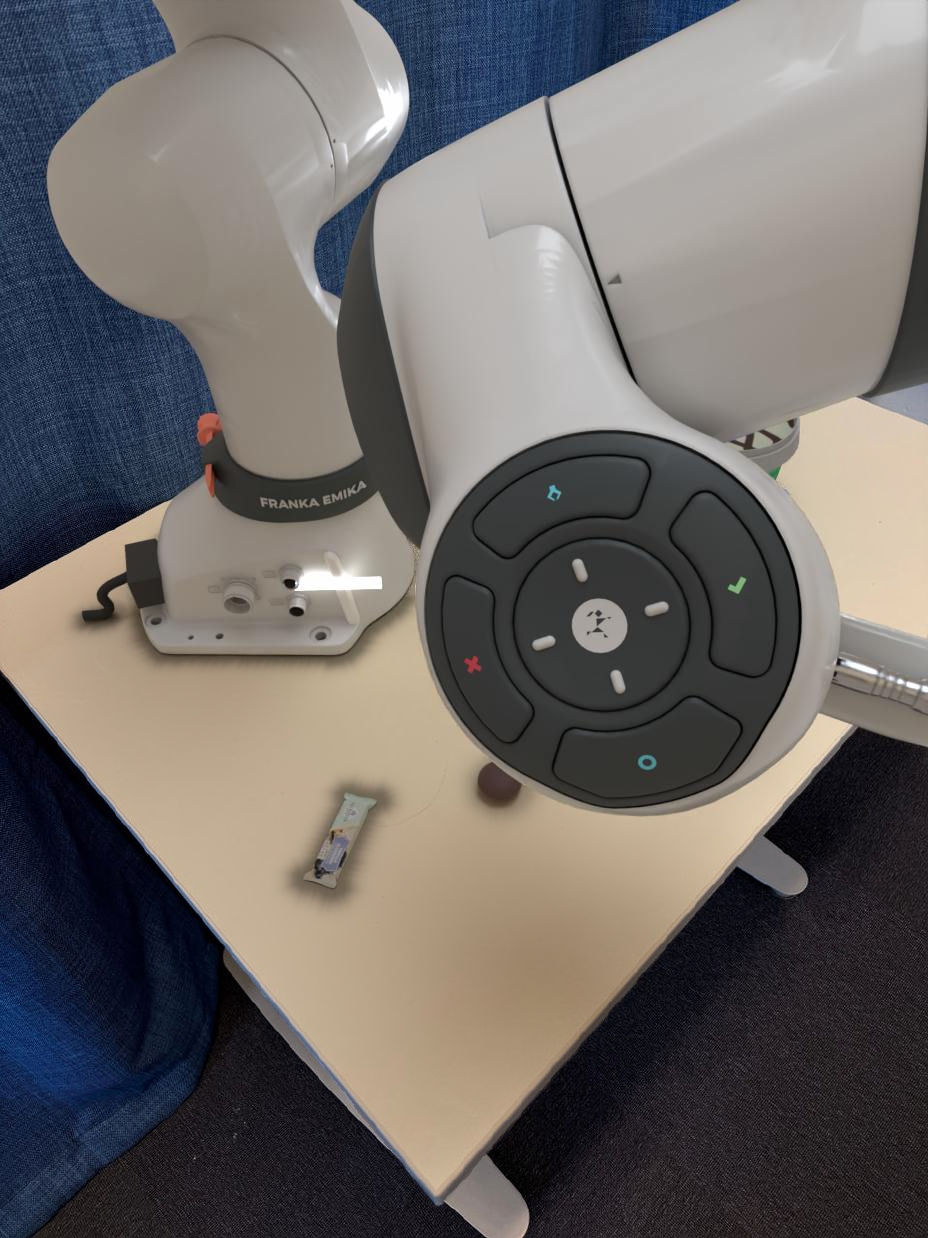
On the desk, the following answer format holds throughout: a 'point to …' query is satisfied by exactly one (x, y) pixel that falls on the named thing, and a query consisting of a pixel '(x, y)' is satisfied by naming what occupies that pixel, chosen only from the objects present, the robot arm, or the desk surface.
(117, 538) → the desk surface
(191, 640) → the robot arm
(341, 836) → the granola bar
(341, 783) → the desk surface
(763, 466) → the food container
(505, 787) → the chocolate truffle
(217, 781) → the desk surface
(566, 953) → the desk surface
